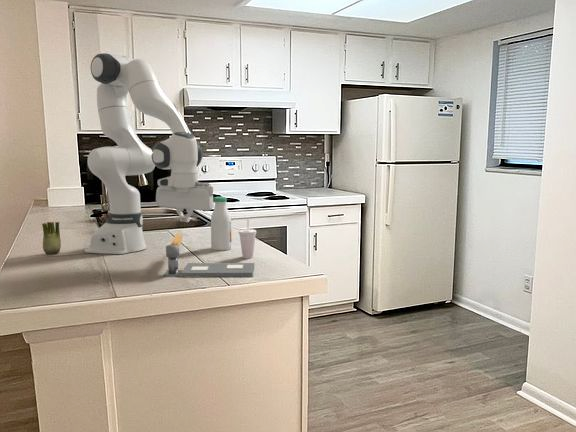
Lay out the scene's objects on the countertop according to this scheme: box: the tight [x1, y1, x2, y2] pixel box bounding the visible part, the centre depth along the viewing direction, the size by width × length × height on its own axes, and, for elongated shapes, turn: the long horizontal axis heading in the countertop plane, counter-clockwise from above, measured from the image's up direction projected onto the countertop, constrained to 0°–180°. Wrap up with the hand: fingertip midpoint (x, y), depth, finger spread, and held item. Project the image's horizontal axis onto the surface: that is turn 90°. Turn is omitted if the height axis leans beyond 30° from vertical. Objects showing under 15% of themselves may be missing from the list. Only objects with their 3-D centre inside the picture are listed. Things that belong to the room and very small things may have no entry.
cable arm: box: [165, 233, 183, 258], centre depth 168 cm, size 24×4×3 cm, turn 7°
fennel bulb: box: [41, 221, 62, 255], centre depth 185 cm, size 6×5×12 cm
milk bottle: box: [210, 196, 232, 251], centre depth 193 cm, size 8×8×20 cm
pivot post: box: [163, 257, 184, 277], centre depth 159 cm, size 5×5×6 cm
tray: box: [180, 262, 255, 278], centre depth 162 cm, size 22×12×2 cm, turn 91°
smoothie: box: [238, 218, 257, 260], centre depth 180 cm, size 6×6×14 cm
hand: (184, 221), depth 173 cm, fingers closed
